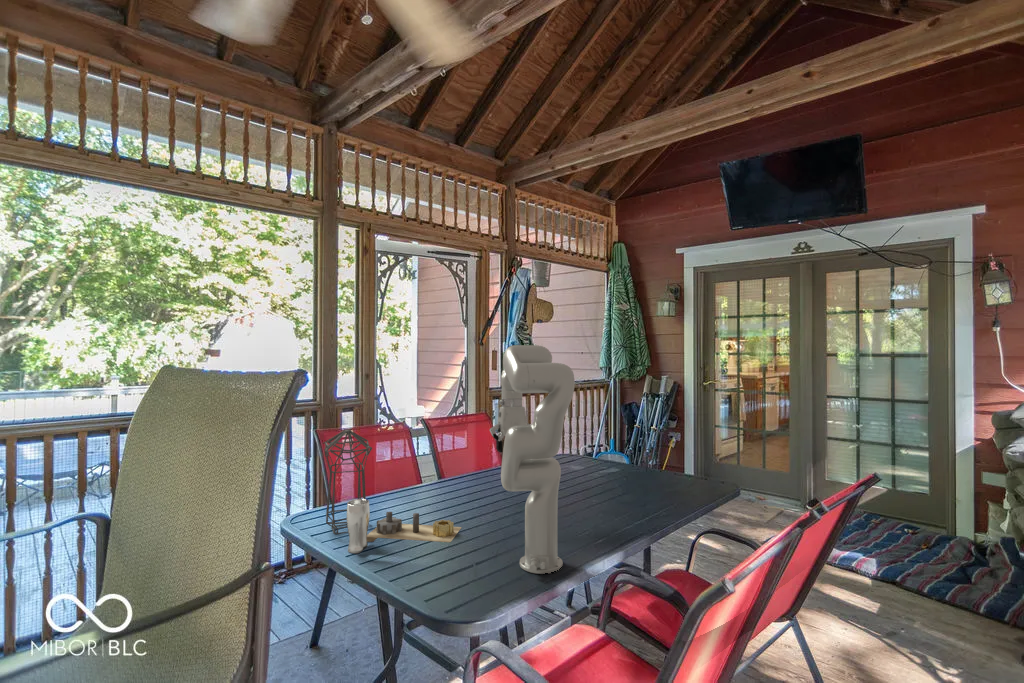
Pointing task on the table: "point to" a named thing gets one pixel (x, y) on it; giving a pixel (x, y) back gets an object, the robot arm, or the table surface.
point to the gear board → (406, 530)
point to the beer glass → (358, 524)
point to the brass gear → (443, 528)
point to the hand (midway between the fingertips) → (511, 450)
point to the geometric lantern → (337, 438)
